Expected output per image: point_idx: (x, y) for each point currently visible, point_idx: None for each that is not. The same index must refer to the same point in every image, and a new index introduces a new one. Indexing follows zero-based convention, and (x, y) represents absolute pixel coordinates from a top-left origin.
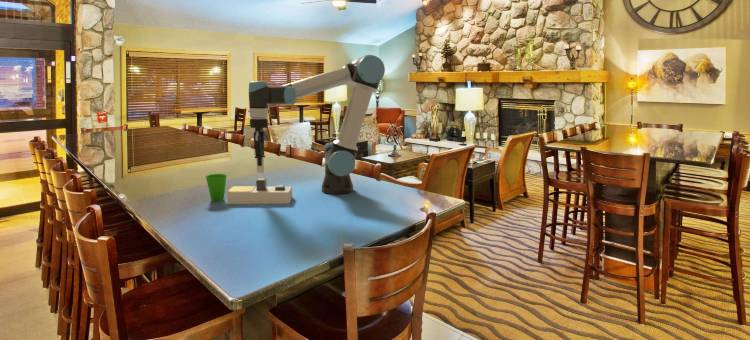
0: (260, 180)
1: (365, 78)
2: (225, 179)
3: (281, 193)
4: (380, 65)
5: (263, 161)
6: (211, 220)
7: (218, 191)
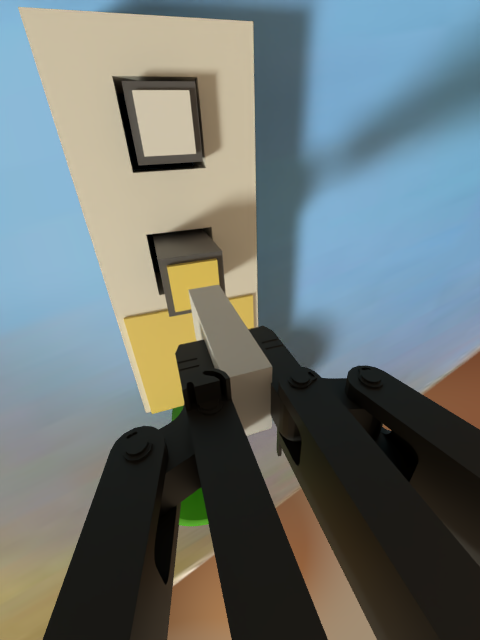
0: (218, 281)
1: None
2: None
3: (250, 97)
4: None
5: (220, 344)
6: (409, 315)
7: None
